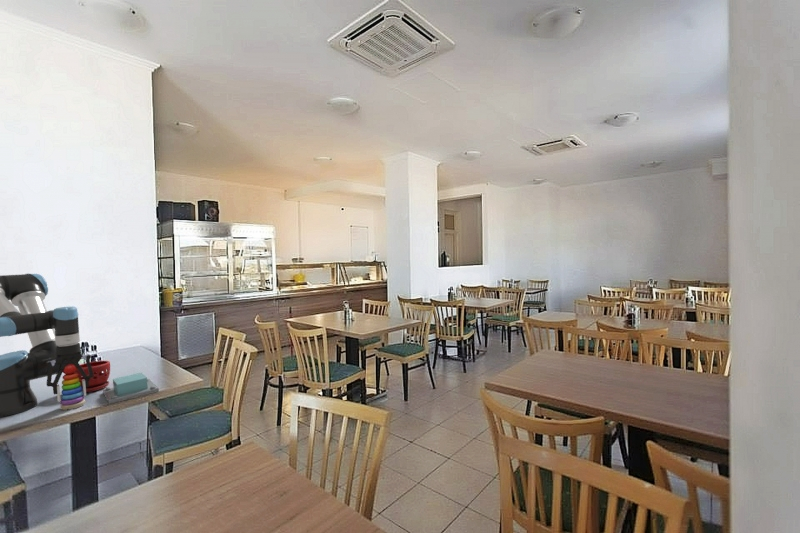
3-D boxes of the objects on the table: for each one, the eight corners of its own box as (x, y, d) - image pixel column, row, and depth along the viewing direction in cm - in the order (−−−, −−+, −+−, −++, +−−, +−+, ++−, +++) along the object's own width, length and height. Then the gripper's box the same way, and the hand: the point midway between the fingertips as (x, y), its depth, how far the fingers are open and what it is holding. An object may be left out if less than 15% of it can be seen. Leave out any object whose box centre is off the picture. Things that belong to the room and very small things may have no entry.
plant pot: (114, 387, 178) (113, 362, 177) (79, 396, 168) (77, 370, 167) (107, 381, 186) (106, 357, 186) (73, 389, 176) (71, 364, 175)
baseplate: (109, 403, 158) (108, 388, 158) (103, 393, 171) (102, 379, 170) (158, 391, 171) (157, 377, 170) (149, 382, 183) (148, 369, 183)
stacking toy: (90, 402, 160) (87, 359, 159) (72, 410, 152) (68, 365, 151) (73, 402, 161) (70, 359, 160) (55, 410, 153) (51, 365, 152)
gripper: (34, 351, 145) (38, 408, 146) (100, 340, 160) (104, 393, 161) (33, 347, 150) (38, 403, 152) (97, 338, 165) (101, 388, 166)
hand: (72, 398), depth 156 cm, fingers closed on stacking toy, 7 cm apart
